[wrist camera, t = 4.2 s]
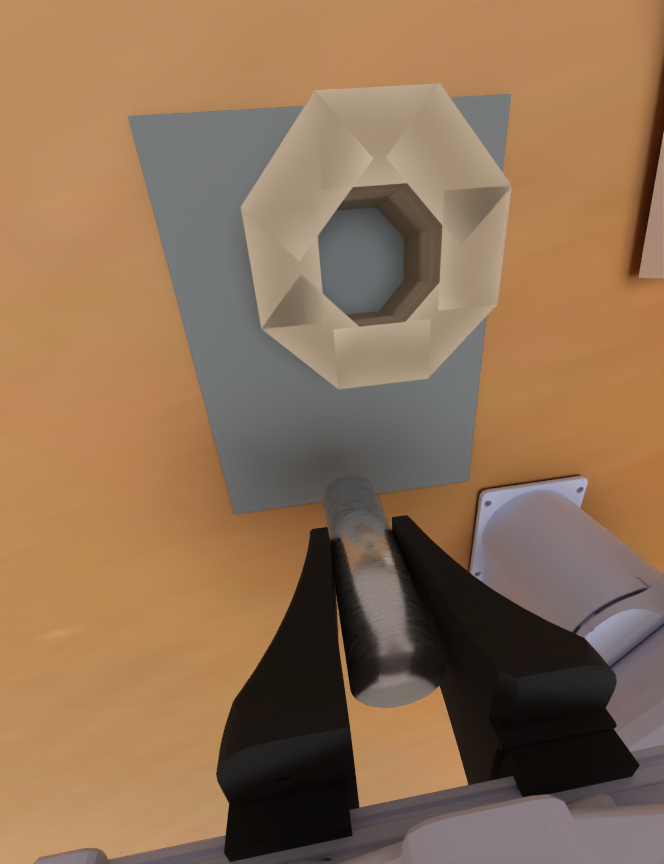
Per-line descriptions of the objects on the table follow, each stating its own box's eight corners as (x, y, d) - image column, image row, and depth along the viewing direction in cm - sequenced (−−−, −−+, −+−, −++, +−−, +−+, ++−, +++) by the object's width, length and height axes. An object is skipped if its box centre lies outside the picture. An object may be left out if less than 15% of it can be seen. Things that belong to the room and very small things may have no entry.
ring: (446, 350, 19) (489, 371, 15) (276, 370, 18) (272, 397, 14) (459, 132, 15) (525, 78, 11) (240, 147, 14) (221, 95, 10)
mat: (466, 478, 23) (468, 480, 23) (235, 511, 22) (234, 514, 22) (507, 97, 15) (511, 93, 14) (131, 119, 13) (127, 116, 13)
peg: (376, 515, 17) (443, 697, 9) (325, 522, 16) (353, 714, 9) (375, 470, 16) (449, 639, 8) (319, 478, 15) (346, 657, 8)
